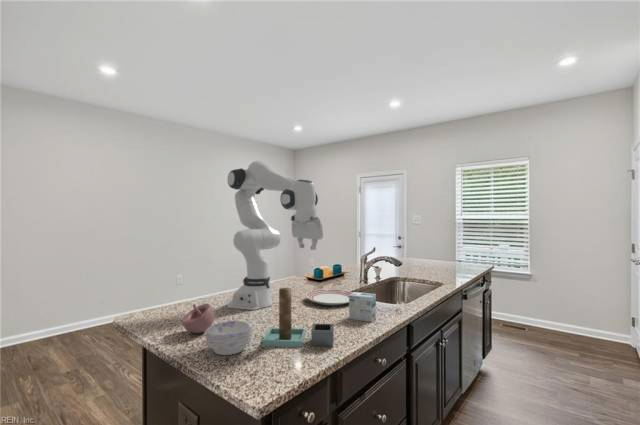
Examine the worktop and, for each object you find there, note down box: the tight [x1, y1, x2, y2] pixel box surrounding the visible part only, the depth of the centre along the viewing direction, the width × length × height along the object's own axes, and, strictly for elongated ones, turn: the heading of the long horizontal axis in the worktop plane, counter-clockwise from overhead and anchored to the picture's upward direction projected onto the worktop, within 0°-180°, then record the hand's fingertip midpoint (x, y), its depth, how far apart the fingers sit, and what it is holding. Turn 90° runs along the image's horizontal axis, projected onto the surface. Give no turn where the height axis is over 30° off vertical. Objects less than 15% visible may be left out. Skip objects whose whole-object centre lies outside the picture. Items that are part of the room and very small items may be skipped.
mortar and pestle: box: [181, 303, 215, 334], centre depth 125 cm, size 12×12×12 cm
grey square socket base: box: [310, 322, 335, 348], centre depth 113 cm, size 8×8×6 cm
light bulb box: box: [348, 291, 377, 323], centre depth 139 cm, size 11×7×11 cm, turn 65°
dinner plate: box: [305, 288, 353, 307], centre depth 168 cm, size 27×27×3 cm
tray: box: [261, 327, 307, 348], centre depth 116 cm, size 14×12×2 cm
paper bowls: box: [205, 320, 253, 356], centre depth 109 cm, size 15×15×8 cm
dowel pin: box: [278, 287, 292, 340], centre depth 116 cm, size 4×4×18 cm
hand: (307, 248), depth 136 cm, fingers open, 8 cm apart
